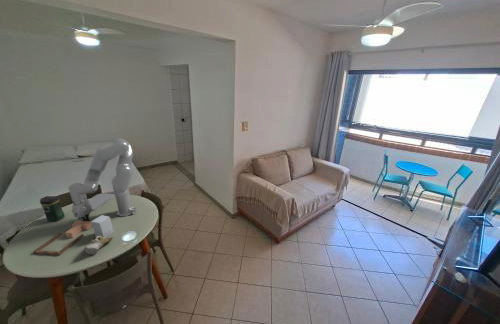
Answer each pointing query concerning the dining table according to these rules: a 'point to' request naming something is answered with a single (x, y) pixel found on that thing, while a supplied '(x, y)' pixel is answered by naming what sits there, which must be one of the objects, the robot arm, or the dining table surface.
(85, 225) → the t block
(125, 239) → the dining table surface
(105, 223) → the supplement box
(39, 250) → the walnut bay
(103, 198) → the tablet
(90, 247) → the ceramic sculpture
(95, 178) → the robot arm
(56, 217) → the coffee jar
